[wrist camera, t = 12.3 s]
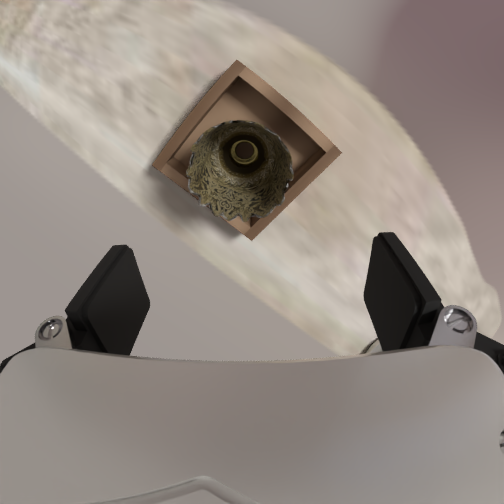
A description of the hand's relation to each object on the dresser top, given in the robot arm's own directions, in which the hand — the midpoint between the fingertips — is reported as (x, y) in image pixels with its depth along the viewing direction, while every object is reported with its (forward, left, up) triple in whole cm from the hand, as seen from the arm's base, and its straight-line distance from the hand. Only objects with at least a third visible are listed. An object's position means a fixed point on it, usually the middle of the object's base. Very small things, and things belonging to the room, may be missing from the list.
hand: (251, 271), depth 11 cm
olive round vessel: (+1, +1, -18) cm, 18 cm away
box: (+1, +1, -19) cm, 19 cm away
